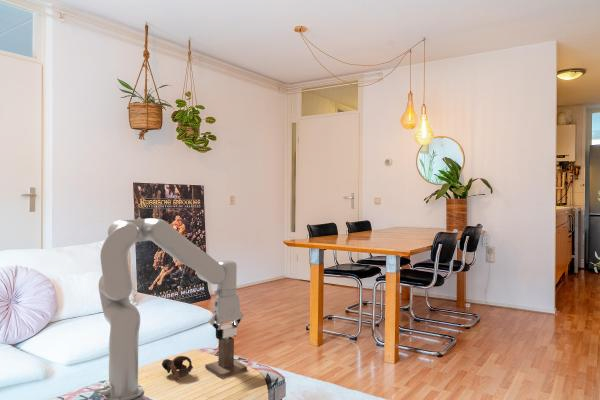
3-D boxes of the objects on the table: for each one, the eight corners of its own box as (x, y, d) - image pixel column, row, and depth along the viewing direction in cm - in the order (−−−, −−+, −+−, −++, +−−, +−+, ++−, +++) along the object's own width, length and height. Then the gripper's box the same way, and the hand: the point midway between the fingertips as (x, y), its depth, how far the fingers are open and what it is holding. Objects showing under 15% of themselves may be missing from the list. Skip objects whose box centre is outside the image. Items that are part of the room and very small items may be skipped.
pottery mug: (193, 370, 175) (196, 356, 171) (186, 390, 167) (189, 375, 163) (164, 363, 175) (166, 348, 171) (155, 382, 166) (157, 367, 162)
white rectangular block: (223, 368, 171) (223, 330, 171) (215, 364, 176) (216, 326, 175) (236, 365, 175) (236, 327, 175) (228, 360, 179) (229, 324, 179)
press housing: (220, 378, 167) (220, 345, 167) (205, 368, 176) (205, 337, 176) (246, 370, 175) (247, 339, 174) (231, 361, 184) (231, 331, 184)
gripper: (212, 297, 167) (211, 344, 167) (250, 291, 178) (249, 335, 178) (202, 293, 172) (202, 339, 172) (240, 288, 183) (239, 331, 184)
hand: (226, 336), depth 175 cm, fingers closed on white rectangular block, 6 cm apart
